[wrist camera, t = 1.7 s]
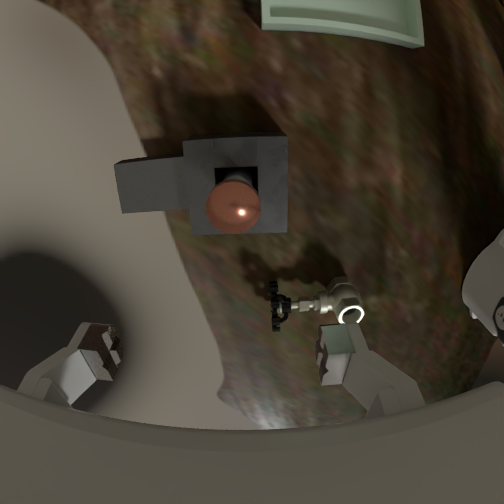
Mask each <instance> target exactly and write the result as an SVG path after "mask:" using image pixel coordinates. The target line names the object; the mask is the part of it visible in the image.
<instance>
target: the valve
mask: <svg viewBox="0 0 504 504" xmlns="http://www.w3.org/2000/svg"><path fill="white" fill-rule="evenodd" d="M269 285H270V298H271V312H272V331H273V332H276V331H280V326H279V325H280V323H282V322H284V321H286V320H287V318H288V313H291V309H295V308H298V309H299V311H309V309H310V308H313V309H314V310H318V313H319V314H323V313H327V312H328V310H333V311H334V312H335V314H336V317H337V319H338V320H339V322H340V323H349V322H357V323H358V322H359V321H360V320H361V319H362V318H363V316H364V315H365V313H364V310H363V308H362V306H361V304H360V295H359V292H358V291H357V289H356V288H355V287H353V286H352V284H351V282H350V281H349V279H348V277H347V276H341V277H334V278H333V279H332V280H331V282H330V283H329V285H328V286H327V290H328V293H326V291H318V292H317V296H313V299H309V297H308V296H307V297H299V298H298V301H291V299H290V298H286V296H284V295H281V294H277V292H278V285H277V281H271V282H269ZM279 312H280V313H284V317H283V318H280V317H278V313H279ZM277 326H279V327H277Z"/></svg>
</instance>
